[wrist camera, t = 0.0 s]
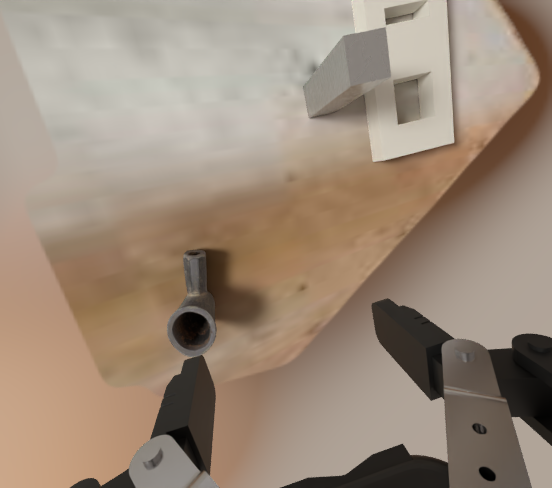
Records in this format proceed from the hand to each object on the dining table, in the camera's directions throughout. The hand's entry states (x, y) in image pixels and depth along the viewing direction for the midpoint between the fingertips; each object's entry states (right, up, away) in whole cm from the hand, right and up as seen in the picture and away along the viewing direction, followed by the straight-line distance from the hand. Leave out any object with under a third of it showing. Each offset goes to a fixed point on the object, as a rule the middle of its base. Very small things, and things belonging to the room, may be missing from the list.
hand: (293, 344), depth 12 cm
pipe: (-13, -2, +29) cm, 32 cm away
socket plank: (+16, +30, +26) cm, 43 cm away
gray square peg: (+5, +25, +25) cm, 36 cm away
